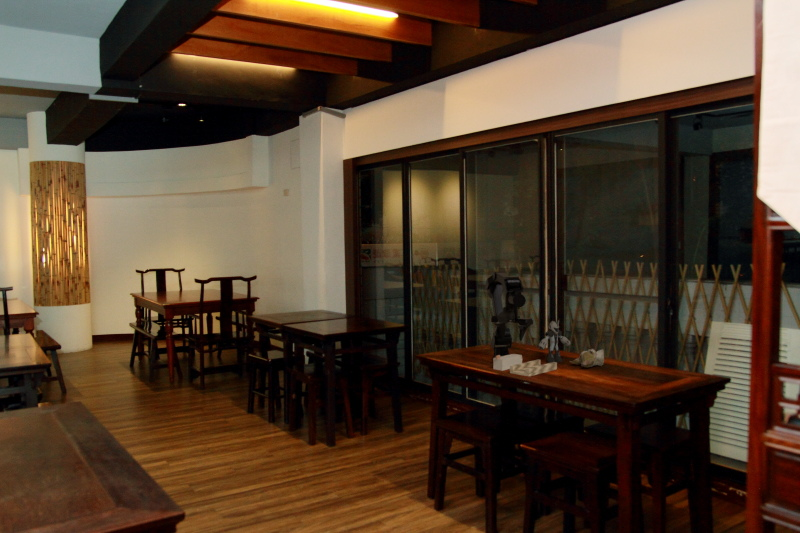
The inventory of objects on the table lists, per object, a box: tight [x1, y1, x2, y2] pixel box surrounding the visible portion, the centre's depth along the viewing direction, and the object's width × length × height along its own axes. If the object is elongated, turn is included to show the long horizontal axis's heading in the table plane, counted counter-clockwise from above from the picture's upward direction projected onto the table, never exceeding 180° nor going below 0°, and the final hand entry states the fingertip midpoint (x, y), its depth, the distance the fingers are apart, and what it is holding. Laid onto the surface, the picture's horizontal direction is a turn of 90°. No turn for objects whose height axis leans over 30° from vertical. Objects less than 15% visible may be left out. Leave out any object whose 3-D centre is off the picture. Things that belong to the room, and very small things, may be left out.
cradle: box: [509, 359, 558, 377], centre depth 275 cm, size 20×10×3 cm, turn 132°
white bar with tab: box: [492, 353, 524, 372], centre depth 285 cm, size 17×5×6 cm, turn 132°
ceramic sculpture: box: [569, 347, 605, 368], centre depth 283 cm, size 11×9×15 cm
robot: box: [537, 318, 572, 364], centre depth 294 cm, size 20×5×20 cm, turn 122°
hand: (511, 339), depth 284 cm, fingers open, 9 cm apart
